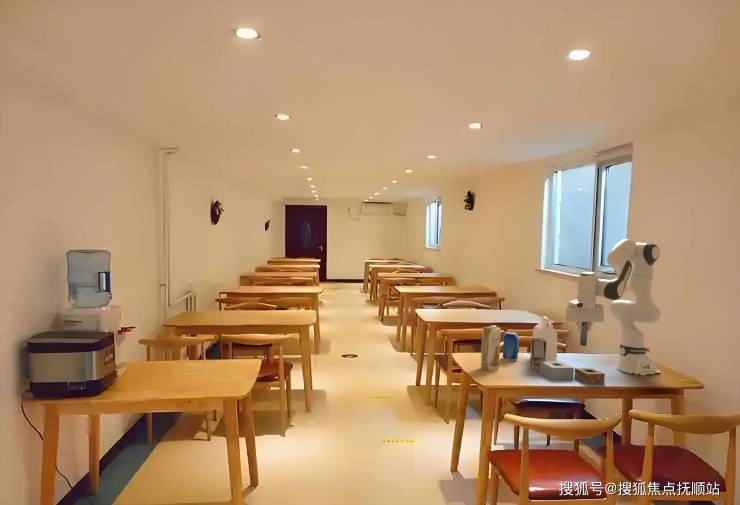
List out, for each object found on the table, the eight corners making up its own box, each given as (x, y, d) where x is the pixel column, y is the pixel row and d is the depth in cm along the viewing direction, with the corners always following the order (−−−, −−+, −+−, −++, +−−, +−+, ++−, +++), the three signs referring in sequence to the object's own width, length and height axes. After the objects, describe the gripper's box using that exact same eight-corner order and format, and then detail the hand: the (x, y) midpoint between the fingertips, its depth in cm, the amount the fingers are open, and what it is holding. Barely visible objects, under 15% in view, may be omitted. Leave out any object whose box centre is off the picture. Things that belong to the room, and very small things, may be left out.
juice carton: (490, 372, 249) (492, 327, 248) (478, 368, 255) (480, 324, 254) (500, 369, 255) (503, 325, 254) (488, 365, 261) (491, 323, 260)
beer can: (519, 359, 277) (520, 332, 276) (515, 362, 270) (516, 335, 269) (504, 357, 281) (506, 330, 281) (500, 359, 274) (502, 332, 274)
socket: (559, 372, 254) (560, 361, 254) (573, 379, 243) (573, 367, 242) (539, 372, 252) (540, 361, 252) (552, 379, 240) (552, 368, 240)
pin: (584, 344, 244) (585, 319, 243) (588, 345, 240) (590, 321, 239) (577, 344, 243) (579, 319, 242) (582, 345, 239) (584, 321, 239)
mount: (591, 377, 247) (591, 367, 247) (604, 383, 237) (604, 373, 237) (574, 377, 245) (574, 368, 245) (586, 384, 235) (587, 374, 235)
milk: (530, 357, 282) (532, 315, 281) (549, 358, 281) (552, 316, 280) (536, 363, 270) (539, 318, 269) (556, 364, 269) (559, 319, 268)
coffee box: (544, 371, 254) (546, 342, 254) (532, 370, 256) (534, 341, 255) (542, 366, 263) (543, 338, 263) (530, 365, 265) (531, 337, 264)
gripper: (599, 303, 246) (597, 329, 246) (564, 302, 242) (562, 328, 242) (607, 304, 240) (606, 331, 240) (572, 304, 235) (570, 331, 236)
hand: (584, 330), depth 241 cm, fingers closed on pin, 3 cm apart
